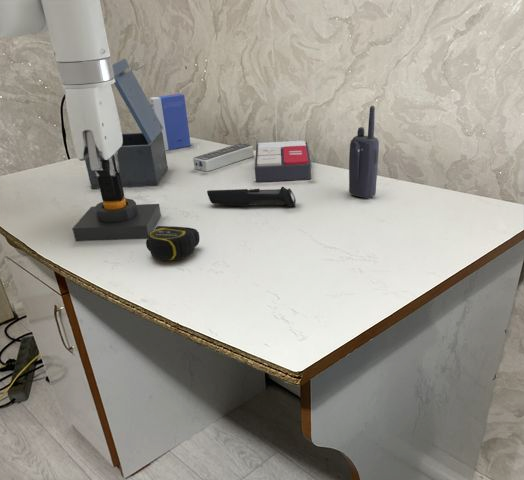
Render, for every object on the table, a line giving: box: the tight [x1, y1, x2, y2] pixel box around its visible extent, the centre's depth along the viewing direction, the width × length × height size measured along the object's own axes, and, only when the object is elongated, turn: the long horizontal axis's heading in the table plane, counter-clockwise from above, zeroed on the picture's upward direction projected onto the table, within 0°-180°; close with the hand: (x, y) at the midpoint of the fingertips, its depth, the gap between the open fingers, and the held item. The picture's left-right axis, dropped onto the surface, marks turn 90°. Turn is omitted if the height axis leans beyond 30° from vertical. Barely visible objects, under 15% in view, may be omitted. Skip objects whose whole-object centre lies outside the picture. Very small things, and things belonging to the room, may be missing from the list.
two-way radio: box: [348, 105, 380, 199], centre depth 92 cm, size 6×4×15 cm
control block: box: [72, 197, 162, 242], centre depth 89 cm, size 12×10×4 cm
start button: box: [102, 196, 127, 210], centre depth 87 cm, size 4×4×2 cm
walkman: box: [149, 92, 192, 152], centre depth 129 cm, size 8×3×12 cm, turn 117°
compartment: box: [84, 132, 169, 189], centre depth 111 cm, size 14×12×8 cm
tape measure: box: [145, 225, 200, 261], centre depth 78 cm, size 7×7×4 cm
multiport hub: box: [192, 142, 254, 173], centre depth 118 cm, size 4×14×2 cm, turn 136°
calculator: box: [254, 140, 312, 183], centre depth 111 cm, size 11×4×15 cm
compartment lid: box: [112, 57, 163, 144], centre depth 104 cm, size 14×12×5 cm
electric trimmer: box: [206, 186, 297, 208], centre depth 94 cm, size 4×16×3 cm, turn 83°
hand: (113, 199), depth 87 cm, fingers closed
